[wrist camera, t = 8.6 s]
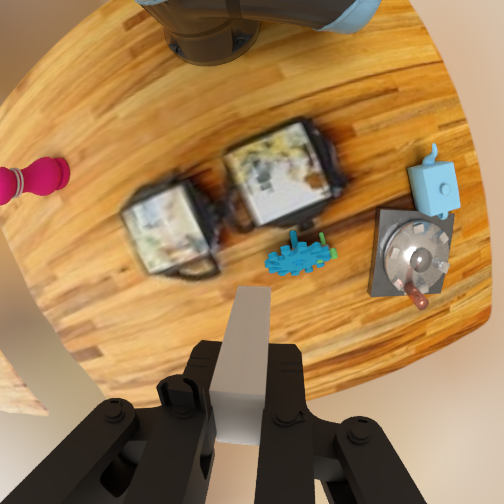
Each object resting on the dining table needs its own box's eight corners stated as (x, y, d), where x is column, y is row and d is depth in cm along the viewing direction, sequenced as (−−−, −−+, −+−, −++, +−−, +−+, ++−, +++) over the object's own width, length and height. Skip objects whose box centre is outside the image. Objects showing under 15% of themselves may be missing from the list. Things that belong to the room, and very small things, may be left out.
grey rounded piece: (373, 282, 44) (388, 303, 37) (397, 210, 40) (418, 221, 33) (429, 294, 44) (447, 315, 37) (453, 230, 40) (477, 244, 33)
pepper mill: (76, 162, 44) (-5, 176, 25) (66, 197, 46) (-10, 223, 27) (53, 150, 43) (-24, 160, 24) (44, 183, 45) (-30, 204, 27)
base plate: (376, 207, 43) (380, 209, 41) (448, 211, 41) (455, 214, 39) (367, 291, 47) (370, 297, 45) (435, 288, 46) (440, 293, 44)
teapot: (399, 147, 39) (420, 146, 32) (428, 141, 38) (451, 139, 31) (414, 217, 42) (435, 228, 35) (442, 209, 41) (465, 218, 34)
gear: (265, 282, 46) (266, 255, 38) (260, 249, 49) (261, 217, 40) (330, 274, 47) (346, 246, 38) (323, 243, 49) (336, 211, 40)
